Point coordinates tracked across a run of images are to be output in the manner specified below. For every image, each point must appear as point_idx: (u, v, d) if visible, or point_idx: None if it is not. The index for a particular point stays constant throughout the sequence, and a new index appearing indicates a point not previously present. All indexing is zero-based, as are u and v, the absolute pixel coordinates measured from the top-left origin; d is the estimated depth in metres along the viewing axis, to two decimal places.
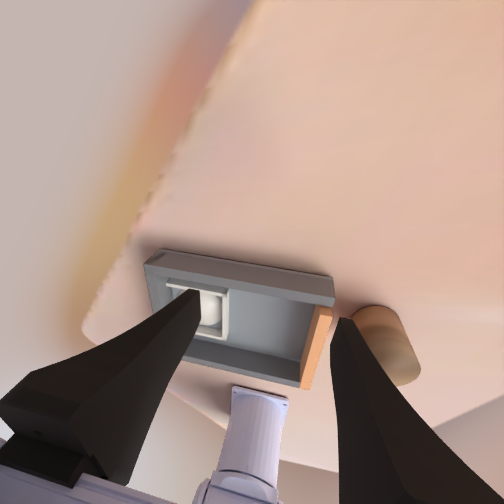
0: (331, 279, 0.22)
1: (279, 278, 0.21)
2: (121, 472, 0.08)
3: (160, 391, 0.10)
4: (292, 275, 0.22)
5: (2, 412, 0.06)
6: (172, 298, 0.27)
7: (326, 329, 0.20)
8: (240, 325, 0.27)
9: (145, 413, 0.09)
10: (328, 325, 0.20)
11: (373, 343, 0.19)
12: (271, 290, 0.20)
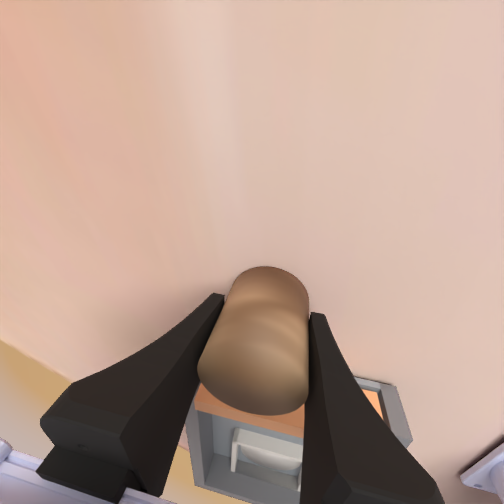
0: None
1: None
2: (157, 484, 0.08)
3: (189, 399, 0.10)
4: None
5: (46, 426, 0.06)
6: (260, 469, 0.24)
7: (219, 408, 0.13)
8: None
9: (177, 422, 0.09)
10: (211, 405, 0.13)
11: None
12: (191, 425, 0.17)
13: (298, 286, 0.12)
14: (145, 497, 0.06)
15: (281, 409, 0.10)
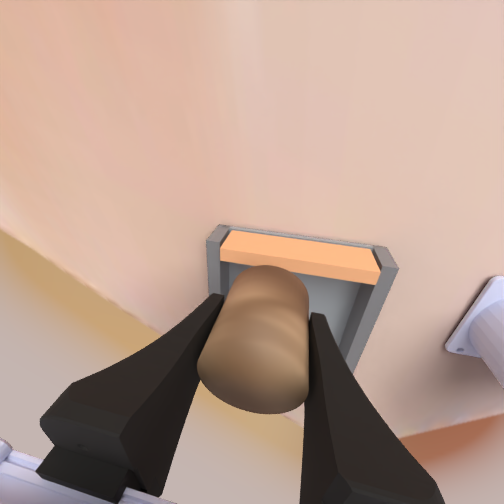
0: (217, 227, 0.20)
1: None
2: (156, 484, 0.08)
3: (189, 399, 0.10)
4: None
5: (46, 426, 0.06)
6: None
7: (240, 253, 0.16)
8: None
9: (177, 422, 0.09)
10: (234, 251, 0.16)
11: None
12: None
13: (298, 284, 0.12)
14: (145, 497, 0.06)
15: (281, 407, 0.10)
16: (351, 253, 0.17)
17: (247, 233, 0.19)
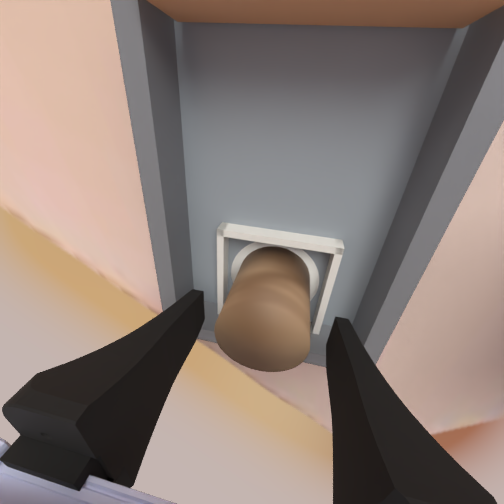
0: None
1: None
2: (126, 474, 0.08)
3: (164, 392, 0.10)
4: None
5: (9, 414, 0.06)
6: None
7: None
8: (312, 211, 0.13)
9: (150, 414, 0.09)
10: None
11: None
12: (142, 137, 0.10)
13: (300, 262, 0.14)
14: (145, 497, 0.06)
15: (287, 364, 0.11)
16: None
17: None
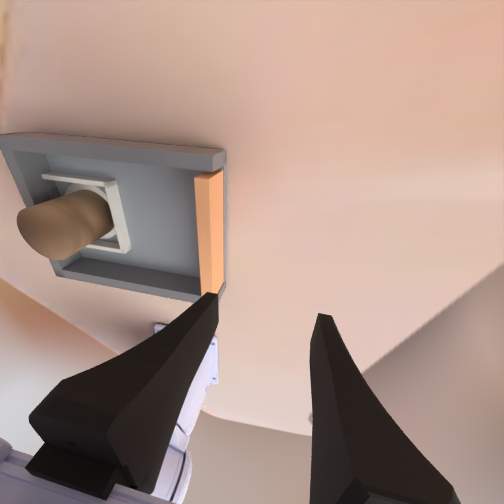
0: (222, 150, 0.18)
1: (156, 146, 0.17)
2: (148, 481, 0.08)
3: (182, 397, 0.10)
4: (175, 146, 0.18)
5: (35, 422, 0.06)
6: None
7: (207, 201, 0.16)
8: (140, 234, 0.23)
9: (169, 420, 0.09)
10: (207, 195, 0.16)
11: None
12: (140, 155, 0.16)
13: (109, 231, 0.23)
14: (145, 497, 0.06)
15: (37, 248, 0.19)
16: (219, 275, 0.21)
17: (222, 188, 0.18)
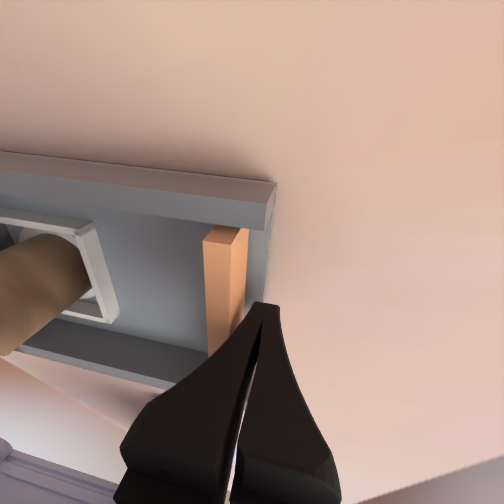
0: (272, 184, 0.10)
1: (157, 179, 0.10)
2: None
3: (242, 412, 0.10)
4: (191, 177, 0.10)
5: (128, 451, 0.06)
6: None
7: (225, 279, 0.09)
8: (133, 296, 0.15)
9: (235, 438, 0.09)
10: (227, 270, 0.09)
11: None
12: (128, 197, 0.09)
13: (86, 292, 0.15)
14: None
15: None
16: None
17: (247, 241, 0.11)
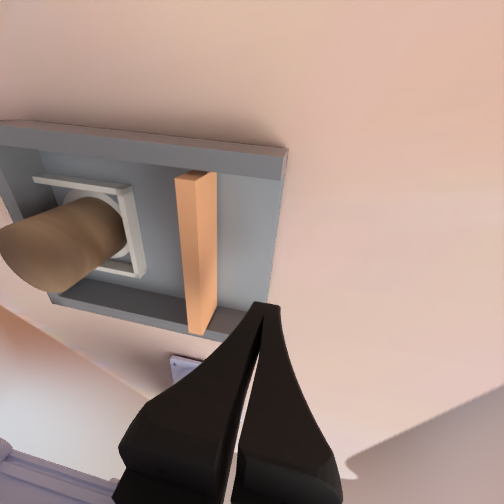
0: (285, 149, 0.13)
1: (193, 142, 0.12)
2: None
3: (241, 412, 0.10)
4: (219, 143, 0.13)
5: (126, 450, 0.06)
6: None
7: (193, 211, 0.12)
8: (160, 254, 0.18)
9: (234, 438, 0.09)
10: (194, 202, 0.11)
11: None
12: (173, 154, 0.11)
13: (120, 249, 0.18)
14: None
15: (24, 277, 0.14)
16: (211, 300, 0.17)
17: (216, 191, 0.14)
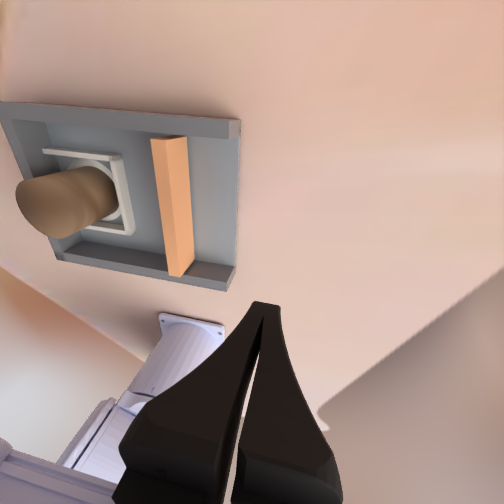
0: None
1: (166, 114, 0.16)
2: None
3: (241, 412, 0.10)
4: None
5: (127, 450, 0.06)
6: None
7: (165, 165, 0.15)
8: (146, 214, 0.22)
9: (234, 438, 0.09)
10: (165, 158, 0.15)
11: None
12: (149, 121, 0.15)
13: (113, 211, 0.21)
14: None
15: (36, 225, 0.18)
16: (188, 250, 0.21)
17: (187, 156, 0.18)
